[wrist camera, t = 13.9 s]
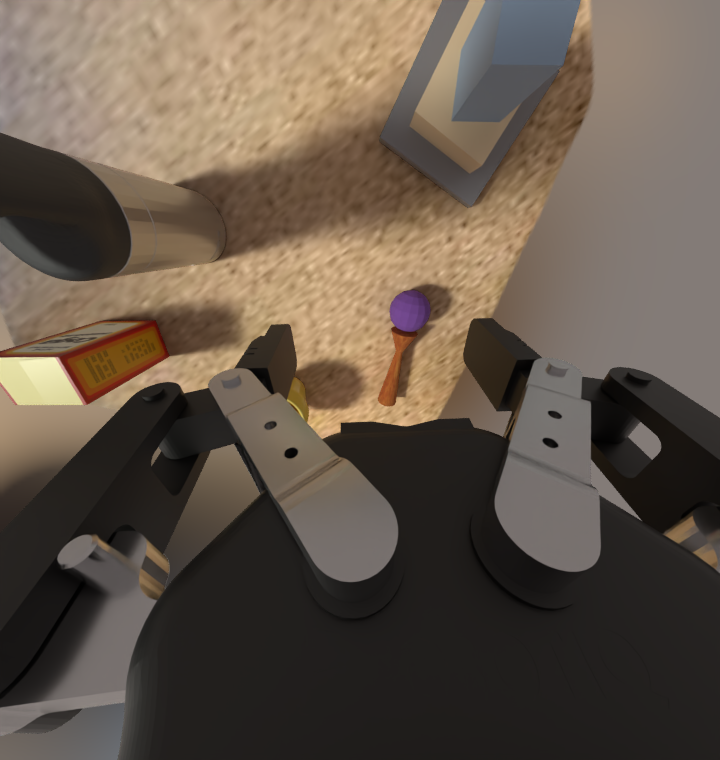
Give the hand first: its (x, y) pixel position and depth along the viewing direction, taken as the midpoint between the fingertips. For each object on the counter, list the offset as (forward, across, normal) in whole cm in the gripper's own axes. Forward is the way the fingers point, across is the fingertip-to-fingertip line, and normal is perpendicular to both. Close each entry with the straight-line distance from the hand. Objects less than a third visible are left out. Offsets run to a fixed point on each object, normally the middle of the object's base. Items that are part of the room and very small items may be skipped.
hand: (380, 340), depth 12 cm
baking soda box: (+32, +39, +15) cm, 52 cm away
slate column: (+27, -12, -14) cm, 33 cm away
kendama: (+29, -6, +17) cm, 34 cm away
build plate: (+32, -12, -13) cm, 37 cm away
